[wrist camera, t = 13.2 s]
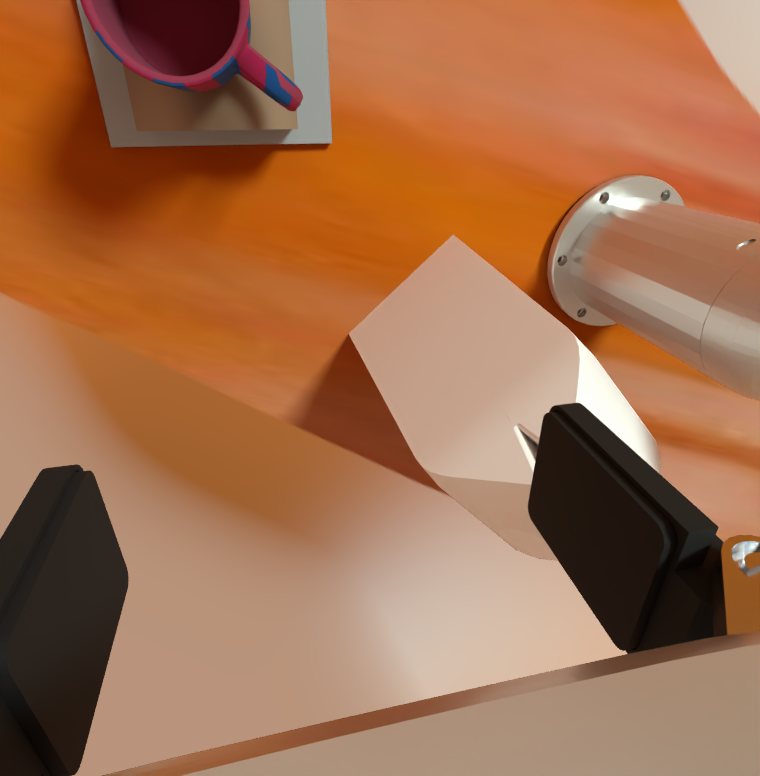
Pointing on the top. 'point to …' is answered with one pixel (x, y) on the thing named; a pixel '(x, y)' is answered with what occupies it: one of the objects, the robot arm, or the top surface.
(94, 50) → the board
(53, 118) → the top surface
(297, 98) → the cup
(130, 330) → the top surface
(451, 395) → the milk
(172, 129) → the walnut slab
